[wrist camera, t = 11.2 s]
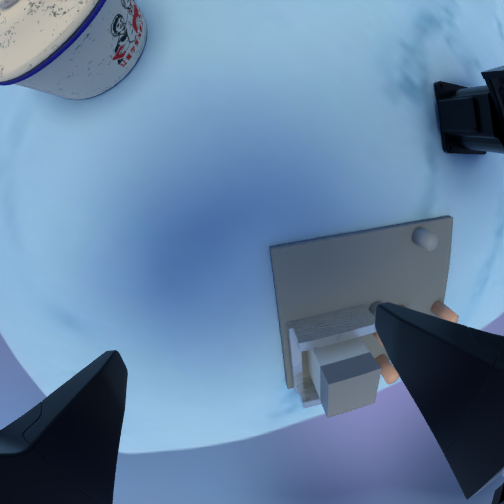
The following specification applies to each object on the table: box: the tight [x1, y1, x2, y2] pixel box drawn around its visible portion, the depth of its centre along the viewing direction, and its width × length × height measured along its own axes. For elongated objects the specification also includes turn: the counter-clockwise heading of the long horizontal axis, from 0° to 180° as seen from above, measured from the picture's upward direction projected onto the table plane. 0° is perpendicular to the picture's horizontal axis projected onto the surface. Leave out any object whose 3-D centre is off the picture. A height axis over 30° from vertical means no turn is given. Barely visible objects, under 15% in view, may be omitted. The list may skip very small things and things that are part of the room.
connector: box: [307, 337, 381, 418], centre depth 21 cm, size 4×4×6 cm
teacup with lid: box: [0, 0, 147, 100], centre depth 8 cm, size 12×9×12 cm
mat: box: [270, 216, 453, 389], centre depth 23 cm, size 17×14×1 cm
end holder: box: [286, 304, 376, 408], centre depth 22 cm, size 7×8×3 cm
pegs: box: [369, 227, 459, 384], centre depth 22 cm, size 9×14×3 cm, turn 9°
